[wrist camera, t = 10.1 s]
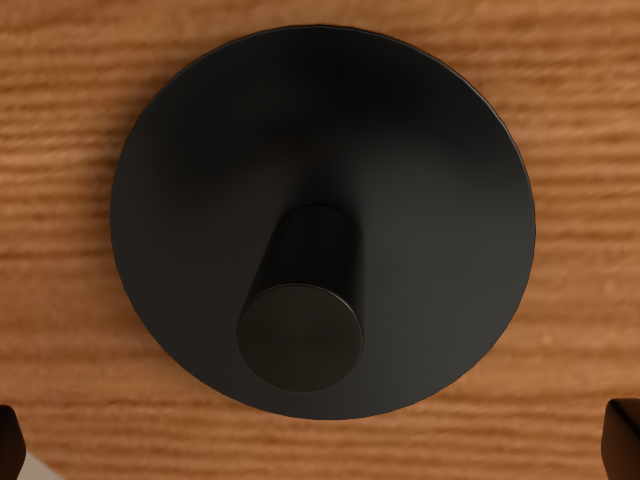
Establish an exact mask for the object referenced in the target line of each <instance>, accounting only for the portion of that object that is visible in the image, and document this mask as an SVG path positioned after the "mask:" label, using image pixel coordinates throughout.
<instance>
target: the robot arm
mask: <svg viewBox="0 0 640 480" xmlns="http://www.w3.org/2000/svg"><path fill="white" fill-rule="evenodd" d="M601 454H602V459H603V463H604V466H605V470H606V473H607V476H608V479H609V480H640V399H638V398H614V399H611V400H610V401H608V403H607V406H606V411H605V418H604V426H603V433H602V441H601ZM25 457H26V445H25V441H24V438H23V435H22V432H21V429H20V426H19V423H18V420H17V417H16V414H15V411H14V410H13V409H12V407H10V406H8V405H0V480H17V477H18V475H19V473H20V471H21V468H22V466H23V464H24V461H25Z"/></svg>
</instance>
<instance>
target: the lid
mask: <svg viewBox="0 0 640 480" xmlns="http://www.w3.org/2000/svg"><path fill="white" fill-rule="evenodd" d="M110 229H111V242H112V247H113V252H114V257H115V262H116V266H117V269H118V272H119V275H120V278H121V281H122V284H123V287H124V289H125V291H126V293H127V296H128V298H129V300H130V302H131V304H132V306H133V308H134V310H135V312H136V313H137V315H138V316H139V318H140V319H141V321H142V322H143V324H144V325H145V327H146V328H147V330H148V331H149V333H150V334H151V335H152V336H153V337H154V339H155V340H156V341H157V342H158V343H159V345H160V346H161V347H162V348H163V349H164V350H165V351H166V352H167V353H168V354H169V355H170V356H171V357H172V358H173V359H174V360H175V361H176V362H177V363H178V364H179V365H180V366H181V367H183V368H184V369H185V370H187V371H188V372H189V373H191V374H192V375H193V376H195V377H196V378H197V379H199V380H200V381H201V382H203V383H205V384H206V385H208V386H210V387H211V388H213V389H215V390H216V391H218V392H220V393H221V394H223V395H225V396H228V397H230V398H232V399H234V400H236V401H239V402H241V403H243V404H245V405H248V406H251V407H254V408H257V409H260V410H263V411H266V412H270V413H275V414H279V415H284V416H288V417H294V418H303V419H312V420H346V419H356V418H365V417H370V416H374V415H379V414H384V413H388V412H391V411H394V410H397V409H400V408H403V407H406V406H409V405H412V404H414V403H416V402H419V401H421V400H423V399H425V398H427V397H429V396H432V395H434V394H435V393H437V392H438V391H440V390H442V389H443V388H445V387H447V386H448V385H450V384H452V383H453V382H455V381H456V380H457V379H458V378H460V377H461V376H462V375H463V374H465V373H466V372H467V371H469V370H470V369H471V368H472V367H473V366H474V365H475V364H476V363H477V362H478V361H479V360H480V359H481V358H482V357H483V356H484V355H485V354H486V353H487V352H488V351H489V350H490V349H491V348H492V347H493V345H494V344H495V343H496V341H497V340H498V339H499V337H500V336H501V335H502V333H503V332H504V331H505V329H506V328H507V326H508V324H509V322H510V320H511V319H512V317H513V315H514V313H515V312H516V310H517V308H518V306H519V303H520V301H521V298H522V296H523V293H524V291H525V288H526V286H527V283H528V279H529V275H530V270H531V266H532V262H533V258H534V247H535V236H536V223H535V205H534V200H533V195H532V190H531V185H530V180H529V176H528V173H527V171H526V168H525V165H524V162H523V160H522V157H521V154H520V151H519V149H518V148H517V146H516V144H515V142H514V140H513V138H512V136H511V135H510V133H509V131H508V129H507V127H506V125H505V124H504V123H503V121H502V120H501V118H500V117H499V116H498V114H497V113H496V112H495V110H494V109H493V108H492V106H491V105H490V104H489V102H488V101H487V100H486V99H485V98H484V97H483V96H482V95H481V94H480V93H479V92H478V91H477V90H476V89H475V88H474V87H473V86H472V85H471V84H470V83H469V82H468V81H467V80H466V79H465V78H464V77H463V76H461V75H460V74H459V73H457V72H456V71H455V70H453V69H452V68H451V67H449V66H448V65H447V64H445V63H444V62H443V61H441V60H440V59H438V58H437V57H435V56H433V55H431V54H429V53H428V52H426V51H424V50H422V49H420V48H419V47H417V46H415V45H413V44H411V43H408V42H406V41H403V40H400V39H398V38H395V37H393V36H390V35H387V34H385V33H382V32H377V31H373V30H368V29H364V28H360V27H355V26H349V25H337V24H326V23H314V24H296V25H287V26H281V27H276V28H271V29H266V30H261V31H258V32H255V33H252V34H249V35H246V36H243V37H241V38H238V39H235V40H232V41H229V42H227V43H225V44H223V45H221V46H219V47H217V48H215V49H213V50H212V51H210V52H208V53H206V54H204V55H202V56H200V57H199V58H198V59H196V60H195V61H193V62H192V63H191V64H189V65H188V66H186V67H185V68H184V69H182V70H181V71H179V72H178V73H177V74H176V75H175V76H174V77H173V78H172V79H171V80H170V81H169V82H168V83H167V84H166V85H164V86H163V87H162V88H161V89H160V90H159V91H158V92H157V93H156V95H155V96H154V97H153V99H152V100H151V101H150V102H149V104H148V105H147V106H146V108H145V109H144V110H143V112H142V113H141V114H140V116H139V117H138V119H137V121H136V123H135V125H134V126H133V128H132V130H131V132H130V134H129V135H128V137H127V139H126V142H125V144H124V147H123V150H122V152H121V155H120V158H119V160H118V163H117V167H116V171H115V176H114V180H113V185H112V189H111V203H110Z"/></svg>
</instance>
